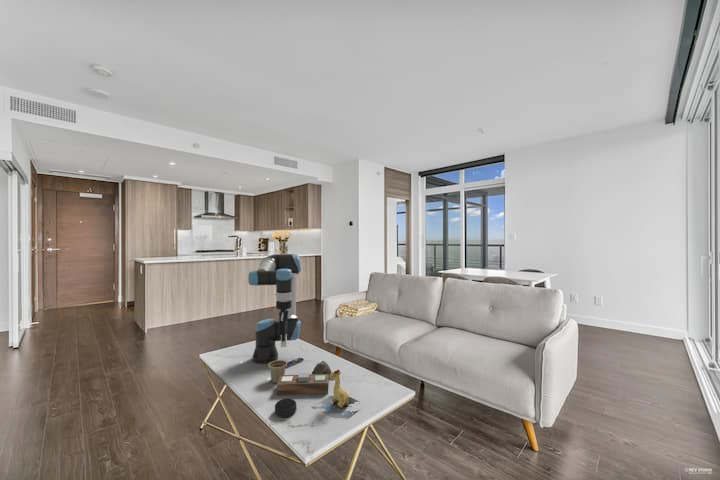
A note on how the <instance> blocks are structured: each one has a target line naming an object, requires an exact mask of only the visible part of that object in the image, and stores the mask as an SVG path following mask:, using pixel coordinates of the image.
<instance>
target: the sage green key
mask: <svg viewBox="0 0 720 480" xmlns="http://www.w3.org/2000/svg"><path fill="white" fill-rule="evenodd" d="M315 381H326V375H318V376H315Z"/></svg>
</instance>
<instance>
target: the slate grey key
mask: <svg viewBox="0 0 720 480" xmlns="http://www.w3.org/2000/svg"><path fill="white" fill-rule="evenodd" d="M309 374H310V372H298V375H299V376H298V382H308V381H309Z"/></svg>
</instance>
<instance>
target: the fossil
mask: <svg viewBox="0 0 720 480" xmlns="http://www.w3.org/2000/svg"><path fill="white" fill-rule="evenodd" d="M331 372H332V369H331V368H330V366H329V364H328V362H326V361H325V360H321V361H320V362H318V363H316V365H315V366H314V368H313V370H312V372H311V374H329V376H330V373H331Z"/></svg>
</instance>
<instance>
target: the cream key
mask: <svg viewBox="0 0 720 480" xmlns="http://www.w3.org/2000/svg"><path fill="white" fill-rule="evenodd" d="M292 381H293V376H283V377H282V380H281V382H292Z"/></svg>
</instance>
